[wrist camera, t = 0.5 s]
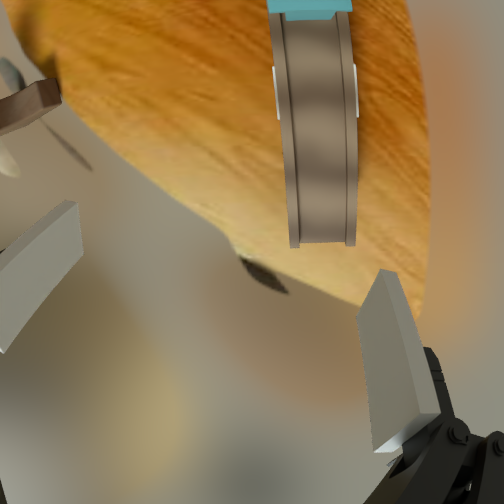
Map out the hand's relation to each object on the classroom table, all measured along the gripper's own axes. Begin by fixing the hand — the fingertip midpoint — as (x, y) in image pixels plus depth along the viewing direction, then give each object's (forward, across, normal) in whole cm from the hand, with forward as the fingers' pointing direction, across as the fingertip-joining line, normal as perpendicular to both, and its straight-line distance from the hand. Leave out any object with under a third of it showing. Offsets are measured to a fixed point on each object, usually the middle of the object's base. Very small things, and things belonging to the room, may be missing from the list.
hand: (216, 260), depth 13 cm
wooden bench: (+27, +4, +6) cm, 28 cm away
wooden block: (+27, -34, +1) cm, 44 cm away
